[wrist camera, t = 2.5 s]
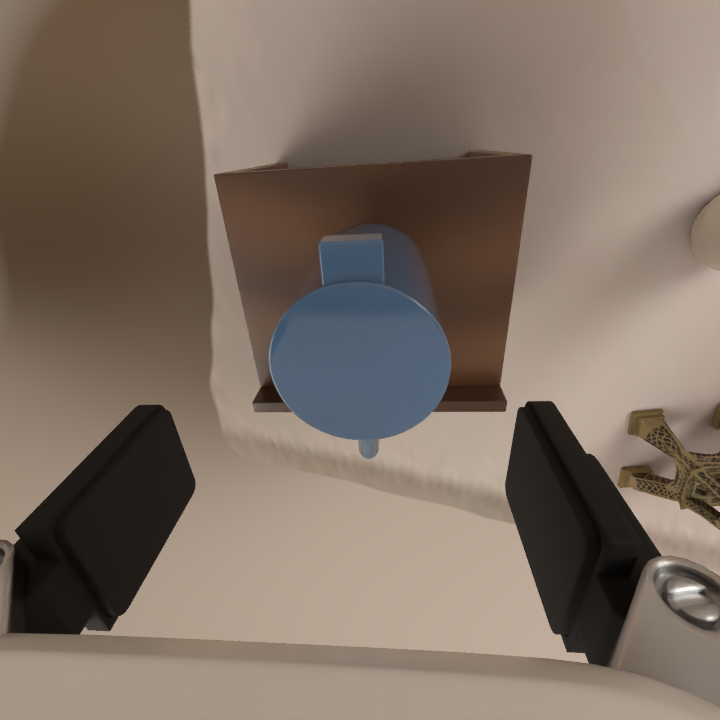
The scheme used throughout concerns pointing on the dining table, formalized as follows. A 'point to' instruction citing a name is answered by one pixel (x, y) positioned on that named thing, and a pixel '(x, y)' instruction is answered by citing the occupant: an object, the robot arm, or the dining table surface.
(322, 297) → the jug
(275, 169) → the shelf stand
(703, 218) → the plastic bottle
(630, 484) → the eiffel tower
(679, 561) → the robot arm
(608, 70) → the dining table surface
